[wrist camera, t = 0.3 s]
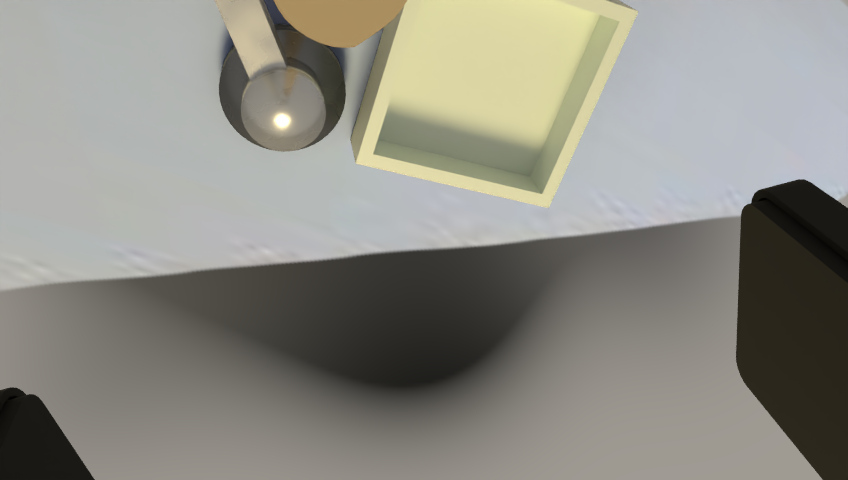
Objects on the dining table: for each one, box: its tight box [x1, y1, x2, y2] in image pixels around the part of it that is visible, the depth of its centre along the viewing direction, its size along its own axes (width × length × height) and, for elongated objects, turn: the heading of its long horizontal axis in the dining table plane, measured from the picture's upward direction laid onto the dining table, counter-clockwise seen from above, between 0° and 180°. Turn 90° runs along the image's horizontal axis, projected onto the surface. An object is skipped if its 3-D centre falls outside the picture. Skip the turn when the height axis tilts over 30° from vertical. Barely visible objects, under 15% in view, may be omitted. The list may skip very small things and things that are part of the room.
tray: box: [351, 0, 638, 208], centre depth 42 cm, size 13×13×4 cm
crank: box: [215, 0, 326, 151], centre depth 36 cm, size 14×4×5 cm, turn 16°
